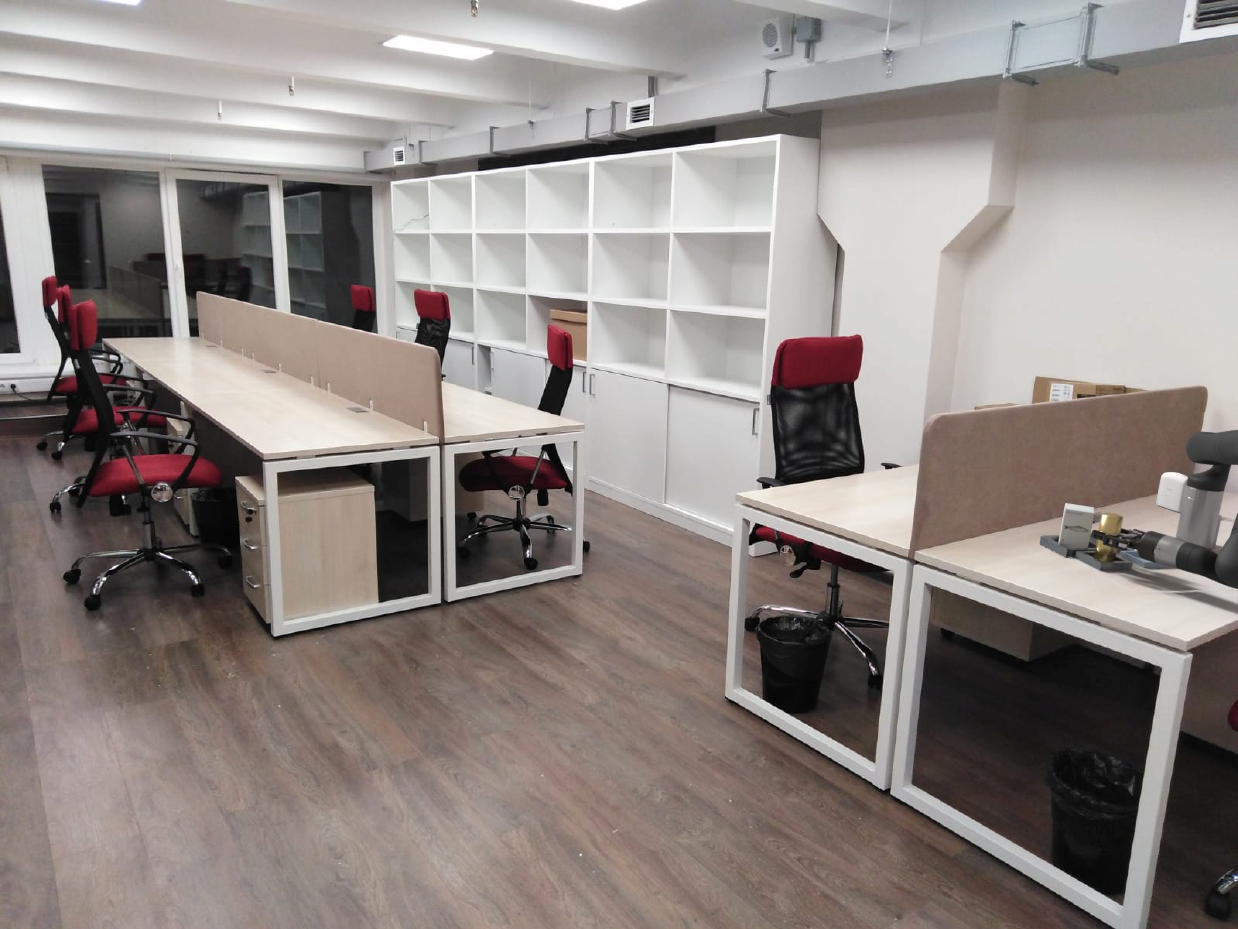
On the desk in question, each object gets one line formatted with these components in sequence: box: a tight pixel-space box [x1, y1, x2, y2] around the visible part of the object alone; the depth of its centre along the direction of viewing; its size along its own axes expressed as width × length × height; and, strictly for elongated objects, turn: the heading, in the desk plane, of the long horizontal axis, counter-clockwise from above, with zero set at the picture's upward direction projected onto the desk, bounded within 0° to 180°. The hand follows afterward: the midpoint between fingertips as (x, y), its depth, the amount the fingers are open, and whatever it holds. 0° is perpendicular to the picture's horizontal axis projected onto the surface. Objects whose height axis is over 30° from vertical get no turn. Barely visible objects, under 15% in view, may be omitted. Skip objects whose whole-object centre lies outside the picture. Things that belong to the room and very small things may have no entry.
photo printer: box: [1155, 471, 1189, 513], centre depth 290 cm, size 10×4×12 cm, turn 13°
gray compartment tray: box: [1039, 534, 1134, 572], centre depth 237 cm, size 12×23×2 cm, turn 10°
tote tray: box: [1118, 550, 1168, 569], centre depth 234 cm, size 9×9×2 cm
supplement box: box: [1058, 502, 1095, 548], centre depth 240 cm, size 7×7×13 cm
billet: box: [1094, 512, 1124, 561], centre depth 229 cm, size 5×5×14 cm
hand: (1101, 531), depth 230 cm, fingers open, 8 cm apart
